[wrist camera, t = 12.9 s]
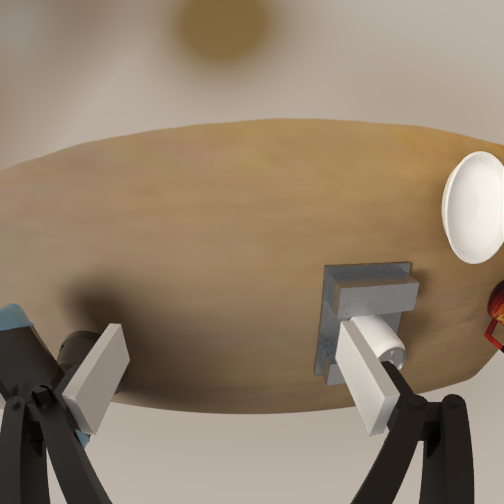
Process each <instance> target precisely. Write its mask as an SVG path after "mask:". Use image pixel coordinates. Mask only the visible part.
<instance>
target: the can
mask: <svg viewBox="0 0 504 504" xmlns="http://www.w3.org/2000/svg"><path fill="white" fill-rule="evenodd" d="M352 320H353V321H354V323H355V324H356V326H357V327H358V329H359V330H360V332H361V333H362V335H363V336H364V338H365V339H366V341H367V342H368V344H369V346H370V347H371V349H372V350H373V352H374V353H375V355H376V356H377V358H378V360H379V361H380V362H382V361H390V362H391V363H392V364H394V365H395V366H396V367H397V369H398V370H400V369H401V368H402V367H403V365H404V364H405V362H406V359H407V353H406V351H405V347H404V345H403V343H402V341H401V340H400V339H399V338H398V336H397V335H396V334H395V332H394V331H393V330H392V329H391V328H390V326H389V325H388V324H387V323H386V321H385V320H384V319H383V318H382V317H381V315H380V314H379V315H370V316H360V317H352V318H351V319H350V321H352Z"/></svg>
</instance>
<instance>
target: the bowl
mask: <svg viewBox="0 0 504 504" xmlns="http://www.w3.org/2000/svg"><path fill="white" fill-rule="evenodd" d="M442 220H443V226H444V229H445V232H446V235H447V237H448V239H449V243H450V245H451V247H452V249H453V251H454V252H455V254H456V255H457V256H458V257H459V258H460V259H461V260H463V261H464V262H467V263H470V264H479V263H482V262H484V261H486V260H488V259H489V258H491V257H492V256H493V255H494V254H495V253H496V252H497V251H498V249H499V248H500V247H501V245H502V244H503V242H504V166H503V165H502V163H501V162H500V161H499V160H498V159H497V158H496V157H495V156H493V155H492V154H490V153H487V152H484V151H477V152H474V153H471V154H469V155H468V156H467V157H465V158H464V159H463V160H462V161H461V162H460V164H459V165H457V166H456V168H455V169H454V170H453V171H452V173H451V174H450V176H449V178H448V180H447V183H446V186H445V189H444V193H443V198H442Z"/></svg>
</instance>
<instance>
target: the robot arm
mask: <svg viewBox="0 0 504 504" xmlns="http://www.w3.org/2000/svg"><path fill="white" fill-rule="evenodd" d="M33 325H34V324H33V323H32V322H30V320H29V319H28V317H27V315H26V314H25V312H24V311H23V309H22V308H21V306H19V305H18V304H15V303H10V304H8V305H6V306H4V307H2V308H0V409H4V414H3V419H2V426H1V432H0V504H50V497H49V488H48V476H47V457H46V450H48V453H49V456H50V460H51V463H52V466H53V469H54V471H55V474H56V477H57V479H58V482H59V485H60V487H61V490H62V492H63V494H64V497H65V500H66V502H67V504H112V502H111V501H110V499H109V497H108V496H107V494H106V492H105V490H104V488H103V486H102V485H101V483H100V481H99V479H98V477H97V475H96V473H95V471H94V469H93V467H92V465H91V463H90V461H89V459H88V457H87V455H86V452H85V450H84V448H85V447H86V445H87V443H88V442H89V441H90V436H91V435H94V436H95V435H96V432H97V430H98V428H99V426H100V423H101V421H102V419H103V417H104V414H105V412H106V410H107V408H108V406H109V403H110V401H111V399H112V397H113V395H114V394H116V393H118V392H119V391H120V390H121V389H122V387H123V385H124V383H125V381H126V379H127V365H128V363H129V361H130V358H129V355H128V351H127V347H126V343H125V339H124V335H123V331H122V327H121V324H111V323H110V324H109V325H108V327H107V328H106V330H105V331H104V332H103V334H102V335H101V337H100V336H98V335H96V334H93V333H90V332H85V331H78V332H74V333H71V334H70V335H69V336H68V337H67V338H66V339H65V340H64V342H63V343H62V345H61V347H60V351H59V355H58V358H57V361H56V360H55V359H54V357H53V356H52V354H51V353H50V351H49V350H48V348H47V347H46V345H45V344H44V342H43V341H42V339H41V338H40V336H39V334H38V333H37V331H36V329H35V328H34V326H33ZM335 359H336V361H337V363H338V366H339V368H340V370H341V372H342V374H343V377H344V379H345V381H346V383H347V386H348V388H349V390H350V393H351V395H352V397H353V399H354V402H355V404H356V406H357V408H358V411H359V413H360V415H361V418H362V420H363V423H364V425H365V427H366V429H367V432H368V434H369V436H371V435H376V434H380V433H383V432H384V430H385V428H386V426H388V429H389V431H390V432H389V434H388V436H387V438H386V440H385V441H384V444H383V446H382V448H381V450H380V452H379V454H378V456H377V458H376V460H375V462H374V464H373V466H372V468H371V470H370V471H369V473H368V475H367V477H366V479H365V480H364V482H363V484H362V485H361V487H360V489H359V491H358V492H357V494H356V495H355V497H354V499H353V500H352V502H351V503H350V504H392V503H393V501H394V499H395V497H396V495H397V492H398V490H399V488H400V486H401V484H402V481H403V479H404V477H405V474H406V472H407V469H408V467H409V465H410V462H411V459H412V457H413V454H414V452H415V449H416V446H417V443H418V441H424V448H423V469H422V480H421V491H420V499H419V504H474V469H473V454H472V444H471V435H470V428H469V421H468V414H467V408H466V403H465V401H464V399H463V398H462V397H461V396H459V395H456V394H449V395H447V396H445V397H444V399H443V400H442V402H428V401H427V400H426V399H425V398H424V397H422V396H420V395H415V394H414V393H413V391H412V390H411V388H410V387H409V385H408V384H407V382H406V381H405V379H404V378H403V376H402V375H401V373H399V370H398V369H397V367H396V366H395V365H394V364H392V363H391V362H390V361H382V362H380V361H379V360H378V358H377V356H376V355H375V353H374V352H373V350H372V349H371V347H370V346H369V344H368V342H367V341H366V339H365V338H364V336H363V335H362V333H361V332H360V330H359V329H358V327H357V326H356V324H355V323H354V321H353V320H352V321H341V326H340V332H339V339H338V345H337V350H336V356H335Z"/></svg>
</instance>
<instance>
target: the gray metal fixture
mask: <svg viewBox="0 0 504 504" xmlns="http://www.w3.org/2000/svg"><path fill="white" fill-rule="evenodd" d="M410 266H411V263H410V262H391V263H370V264H346V265H325V267H324V281H323V293H322V305H321V315H320V325H319V334H318V343H317V352H316V360H315V367H314V375H320V374H323V377H324V380H325V382H326V385H327V386H330V385H338V384H345V383H346V381H345V379H344V377H343V374H342V372H341V370H340V368H339V366H338V363H337V361H336V359H335V356H336V350H337V345H338V339H339V332H340V326H341V321H350V319H351V318H352V317H360V316H370V315H379V314H380V315H381V317H382V318H383V319H384V320H385V321H386V323H387V324H388V325H389V326H390V328H391V329H392V330H393V331H394V332H395V334H396V335H397V331H398V327H399V323H400V319H401V314H402V312H403V311H411V310H414V307H415V302H416V298H417V293H418V288H419V283H420V282H418V281H417V280H416V279H414V278H413V277H412V276H410V275H409V272H410Z"/></svg>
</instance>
